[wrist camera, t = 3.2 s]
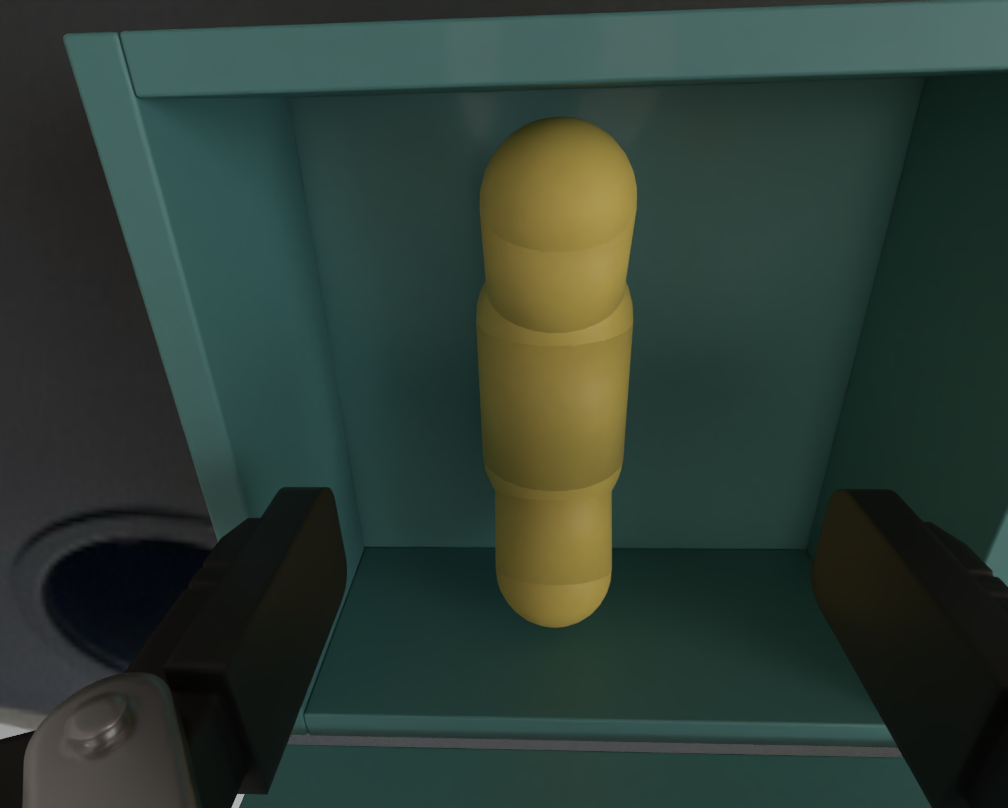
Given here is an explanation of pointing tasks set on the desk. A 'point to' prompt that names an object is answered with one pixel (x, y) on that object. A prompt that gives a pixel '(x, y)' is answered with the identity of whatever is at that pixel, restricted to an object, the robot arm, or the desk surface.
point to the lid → (580, 780)
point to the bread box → (655, 338)
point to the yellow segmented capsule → (555, 360)
